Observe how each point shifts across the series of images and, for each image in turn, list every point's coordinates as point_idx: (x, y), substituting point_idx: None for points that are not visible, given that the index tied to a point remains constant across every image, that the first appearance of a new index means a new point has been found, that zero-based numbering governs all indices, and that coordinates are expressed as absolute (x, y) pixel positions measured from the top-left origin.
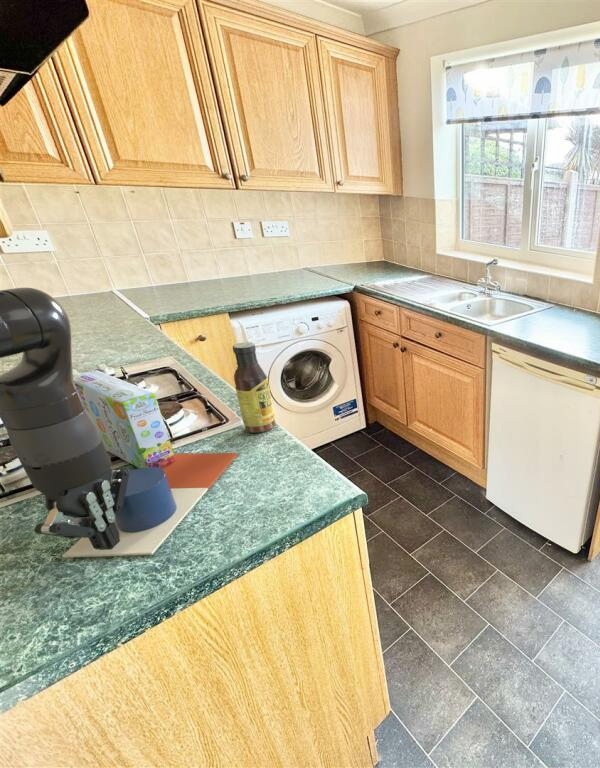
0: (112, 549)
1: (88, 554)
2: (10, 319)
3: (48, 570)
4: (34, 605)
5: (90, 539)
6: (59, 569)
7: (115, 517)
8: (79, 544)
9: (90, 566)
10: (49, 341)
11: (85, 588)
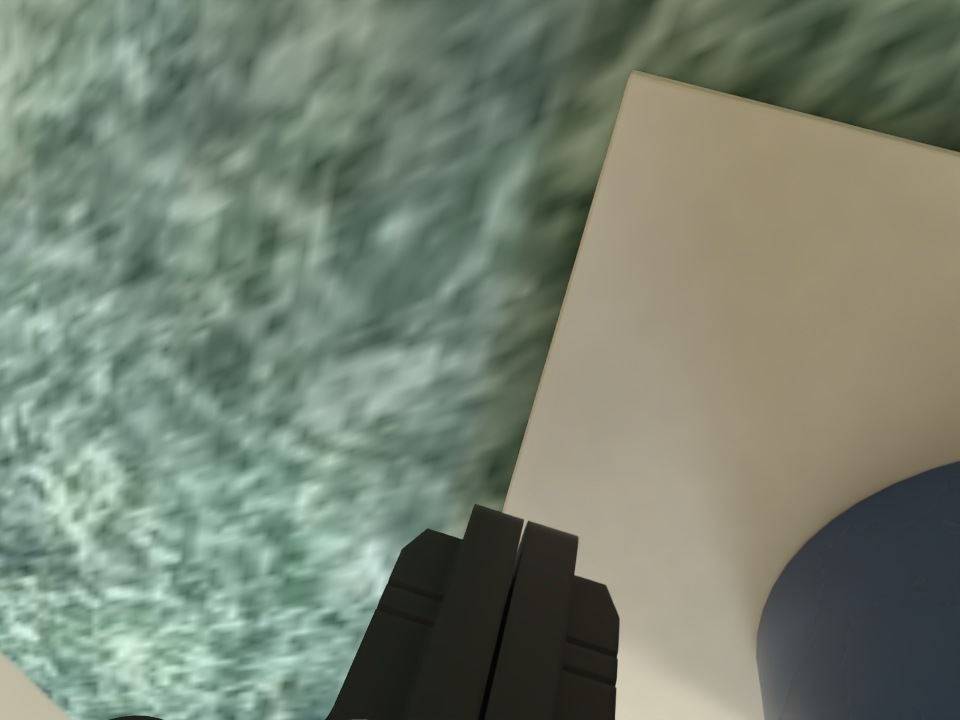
0: (569, 496)
1: (557, 336)
2: None
3: (458, 11)
4: (52, 133)
5: (357, 656)
6: (447, 122)
7: (903, 668)
8: (782, 185)
9: (424, 371)
10: None
11: (193, 414)
